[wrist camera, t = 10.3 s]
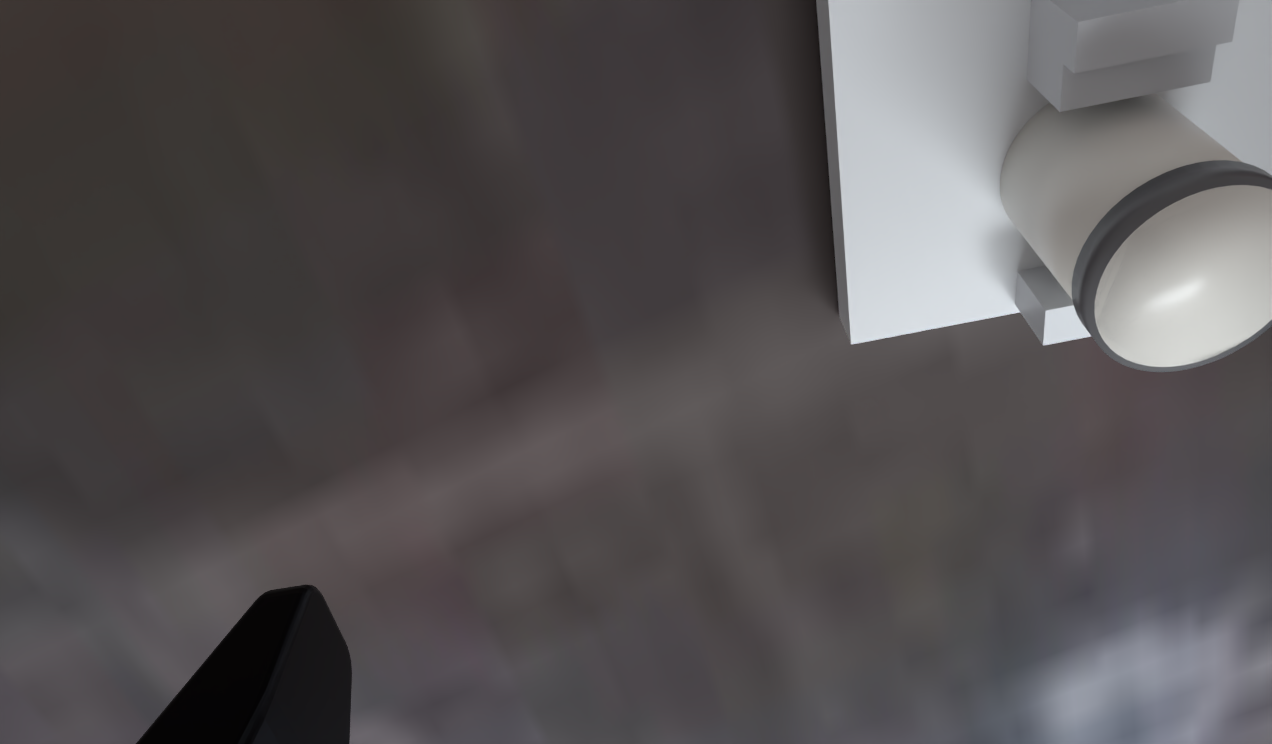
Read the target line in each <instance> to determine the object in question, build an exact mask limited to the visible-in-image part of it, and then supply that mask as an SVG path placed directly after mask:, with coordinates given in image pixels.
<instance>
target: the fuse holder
mask: <svg viewBox="0 0 1272 744" xmlns="http://www.w3.org/2000/svg"><path fill="white" fill-rule="evenodd" d="M816 4H817V18H818V32H819V45H820V59H821V73H822V86H823V100H824V114H825V127H826V141H827V155H828V168H829V182H830V196H831V209H832V223H833V237H834V250H835V264H836V278H837V291H838V305H839V317H840V320H841V322H842V324H843V327H844V329H845V331H846V334H847V336H848V338H849V341H850V343H851V344H857V343H862V342H867V341H872V340H877V339H883V338H888V337H893V336H898V335H904V334H909V333H914V332H919V331H924V330H930V329H935V328H940V327H945V326H951V325H956V324H961V323H966V322H971V321H977V320H982V319H987V318H992V317H998V316H1003V315H1008V314H1013V313H1018V312H1021V314H1022V315H1023V317H1024V318H1025V320H1026V321H1027V323H1028V324H1029V326H1030V327H1031V329H1032V330H1033V332H1034V333H1035V334H1036V336H1037V337H1038V339H1039V340H1040V342H1041V343H1042V345H1048V344H1054V343H1059V342H1064V341H1069V340H1075V339H1080V338H1085V337H1090V336H1092V338H1093V339H1094V340H1095V341H1096V343H1097V344H1098V345H1099V347H1100V348H1101V349H1102V350H1103V351H1104V352H1105V353H1106V354H1107V355H1108V356H1110V357H1111V358H1112V359H1113V360H1115V361H1117V362H1119V363H1121V364H1122V365H1125V366H1128V367H1131V368H1133V369H1138V370H1143V371H1151V372H1172V371H1180V370H1186V369H1190V368H1195V367H1199V366H1202V365H1205V364H1208V363H1211V362H1214V361H1216V360H1218V359H1221V358H1223V357H1225V356H1228V355H1229V354H1231V353H1233V352H1235V351H1237V350H1239V349H1241V348H1242V347H1244V346H1245V345H1247V344H1248V343H1250V342H1252V341H1253V340H1255V339H1256V338H1257V337H1258V336H1260V335H1261V334H1262V333H1264V332H1265V331H1266V330H1267V329H1269V328H1270V327H1271V326H1272V0H816Z"/></svg>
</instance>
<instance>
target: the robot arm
mask: <svg viewBox="0 0 1272 744" xmlns="http://www.w3.org/2000/svg"><path fill="white" fill-rule="evenodd" d="M351 683H352V668H351V659H350V654H349V650H348V647H347V645H346V642H345V640H344V638H343V636H342V634H341V632H340V630H339V628H338V626H337V624H336V622H335V620H334V618H333V616H332V614H331V612H330V610H329V607H328V605H327V603H326V601H325V599H324V597H323V595H322V594H321V592H320V591H319V590H318V589H317V588H316V587H314V586H312V585H301V586H294V587H288V588H282V589H275V590H270V591H267V592H265V593H264V594H262V595H261V596H260V597H259V598H258V599H257V600H256V601H255V602H254V603H253V604H252V606H251V607H250V608H249V609H248V610H247V612H246V613H245V614H244V615H243V616H242V618H241V619H240V620H239V621H238V622H237V623H236V625H235V626H234V627H233V628H232V629H231V631H230V632H229V633H228V634H227V635H226V637H225V638H224V639H223V640H222V641H221V643H220V644H219V645H218V646H217V647H216V649H215V650H214V651H213V652H212V653H211V655H210V656H209V657H208V658H207V659H206V661H205V662H204V663H203V664H202V665H201V667H200V668H199V669H198V670H197V671H196V673H195V674H194V675H193V676H192V677H191V679H190V680H189V681H188V682H187V683H186V684H185V686H184V687H183V688H182V689H181V690H180V692H179V693H178V694H177V695H176V696H175V698H174V699H173V700H172V701H171V702H170V704H169V705H168V706H167V707H166V708H165V710H164V711H163V712H162V713H161V714H160V716H159V717H158V718H157V719H156V720H155V722H154V723H153V724H152V725H151V726H150V728H149V729H148V730H147V731H146V732H145V734H144V735H143V736H142V737H141V738H140V739H139V741H138V742H137V743H136V744H349V739H350V711H351Z"/></svg>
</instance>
